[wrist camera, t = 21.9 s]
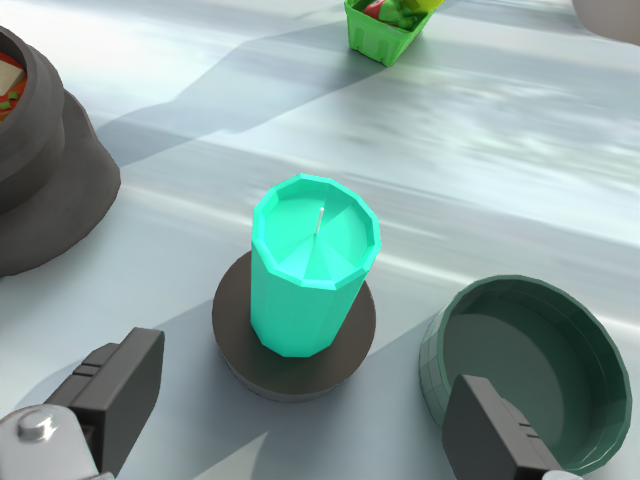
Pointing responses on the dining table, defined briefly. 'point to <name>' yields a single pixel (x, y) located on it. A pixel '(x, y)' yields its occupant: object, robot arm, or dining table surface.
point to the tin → (533, 365)
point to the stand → (270, 367)
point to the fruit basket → (386, 25)
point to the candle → (308, 262)
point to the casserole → (45, 162)
